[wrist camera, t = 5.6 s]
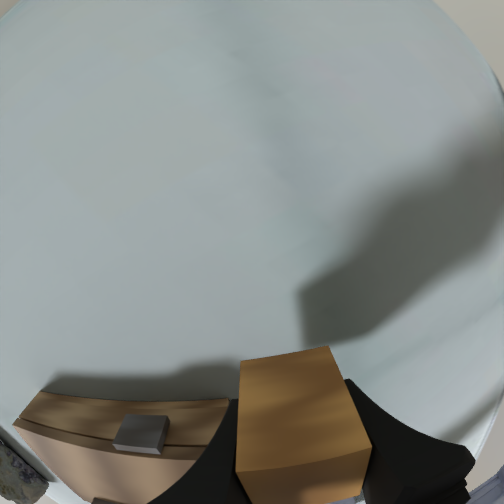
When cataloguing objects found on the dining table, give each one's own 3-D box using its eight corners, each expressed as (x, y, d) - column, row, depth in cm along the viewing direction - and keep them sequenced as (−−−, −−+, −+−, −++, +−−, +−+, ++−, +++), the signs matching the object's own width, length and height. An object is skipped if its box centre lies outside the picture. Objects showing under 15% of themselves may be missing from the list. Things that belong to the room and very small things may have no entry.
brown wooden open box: (228, 398, 16) (223, 443, 13) (258, 479, 19) (258, 512, 15) (39, 391, 17) (18, 416, 13) (98, 468, 20) (87, 492, 16)
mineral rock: (-15, 419, 20) (-42, 453, 11) (29, 450, 21) (3, 493, 11) (13, 461, 23) (-7, 492, 14) (55, 487, 24) (38, 523, 14)
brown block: (328, 345, 12) (372, 446, 6) (330, 404, 13) (359, 495, 7) (240, 360, 12) (235, 471, 6) (255, 417, 13) (258, 513, 7)
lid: (222, 413, 14) (216, 476, 10) (258, 497, 17) (259, 537, 13) (23, 397, 15) (-3, 428, 10) (92, 481, 18) (79, 510, 13)
